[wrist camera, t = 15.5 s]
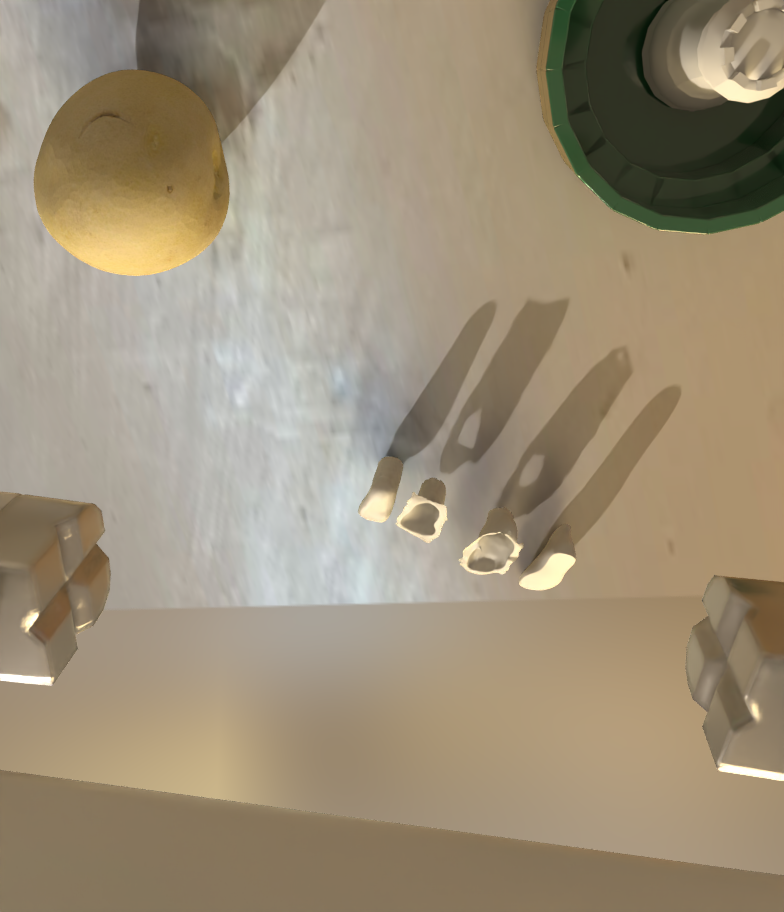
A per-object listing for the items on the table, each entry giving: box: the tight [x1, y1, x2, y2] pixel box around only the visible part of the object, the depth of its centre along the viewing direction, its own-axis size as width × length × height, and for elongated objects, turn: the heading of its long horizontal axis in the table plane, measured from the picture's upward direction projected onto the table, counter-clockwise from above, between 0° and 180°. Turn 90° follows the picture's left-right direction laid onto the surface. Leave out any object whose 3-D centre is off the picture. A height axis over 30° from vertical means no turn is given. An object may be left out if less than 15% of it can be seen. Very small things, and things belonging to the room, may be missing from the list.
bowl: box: [536, 0, 784, 235], centre depth 28 cm, size 12×12×5 cm
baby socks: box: [358, 456, 576, 590], centre depth 40 cm, size 12×5×3 cm, turn 69°
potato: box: [34, 70, 230, 276], centre depth 30 cm, size 8×8×8 cm
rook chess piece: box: [642, 0, 784, 111], centre depth 26 cm, size 4×4×8 cm
